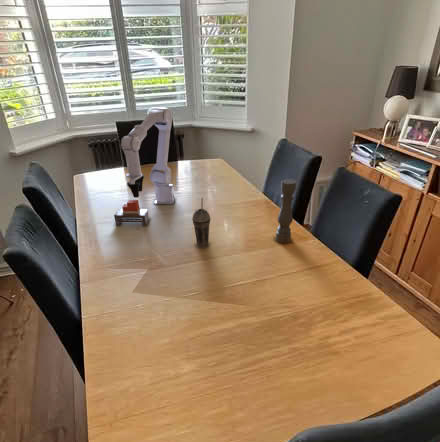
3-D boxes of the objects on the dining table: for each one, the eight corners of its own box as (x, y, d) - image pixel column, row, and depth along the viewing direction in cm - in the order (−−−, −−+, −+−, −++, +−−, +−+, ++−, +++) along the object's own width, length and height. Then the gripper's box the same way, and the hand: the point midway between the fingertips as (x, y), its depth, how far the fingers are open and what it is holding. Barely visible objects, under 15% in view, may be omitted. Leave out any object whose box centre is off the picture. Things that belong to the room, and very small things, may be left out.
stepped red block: (140, 210, 167) (138, 199, 164) (138, 213, 164) (136, 203, 161) (125, 210, 168) (123, 199, 165) (122, 213, 164) (120, 203, 161)
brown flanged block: (148, 219, 171) (147, 209, 168) (146, 225, 165) (144, 215, 162) (119, 219, 172) (117, 209, 169) (115, 225, 166) (113, 215, 163)
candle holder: (290, 243, 150) (296, 184, 135) (275, 242, 151) (280, 183, 136) (290, 236, 155) (297, 179, 140) (276, 235, 156) (281, 178, 141)
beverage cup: (190, 246, 148) (187, 200, 137) (199, 239, 154) (197, 194, 142) (205, 250, 146) (204, 203, 134) (214, 243, 151) (213, 197, 139)
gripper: (128, 160, 167) (133, 188, 175) (120, 170, 156) (126, 200, 164) (143, 160, 167) (147, 188, 175) (136, 169, 155) (141, 200, 163)
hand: (138, 194), depth 169 cm, fingers open, 7 cm apart
